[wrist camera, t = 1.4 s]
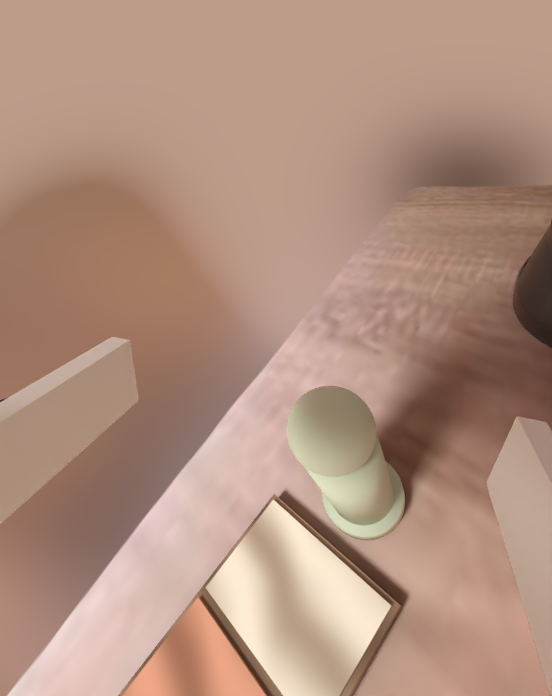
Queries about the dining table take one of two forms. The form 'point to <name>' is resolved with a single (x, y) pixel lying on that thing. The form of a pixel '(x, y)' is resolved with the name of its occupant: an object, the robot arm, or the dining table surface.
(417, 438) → the dining table surface
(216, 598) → the board
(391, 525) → the pawn
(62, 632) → the dining table surface
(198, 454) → the dining table surface
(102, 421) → the robot arm
